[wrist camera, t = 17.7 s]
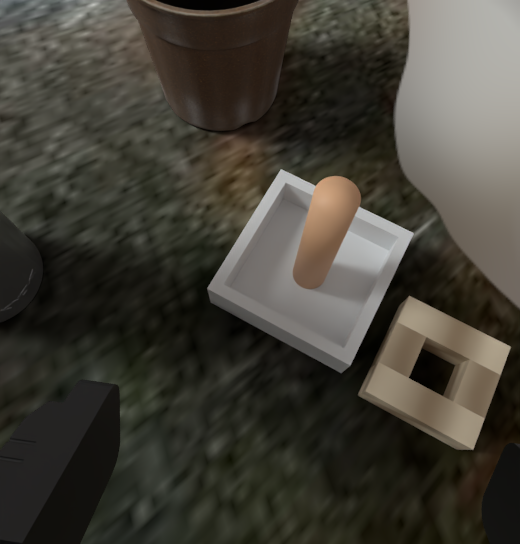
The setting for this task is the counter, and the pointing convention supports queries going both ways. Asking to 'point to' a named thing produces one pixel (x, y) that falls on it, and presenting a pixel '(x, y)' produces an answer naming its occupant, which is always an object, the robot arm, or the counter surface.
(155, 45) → the plant pot
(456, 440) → the dowel holder
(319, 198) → the dowel
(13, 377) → the counter surface
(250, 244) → the tray
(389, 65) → the counter surface
